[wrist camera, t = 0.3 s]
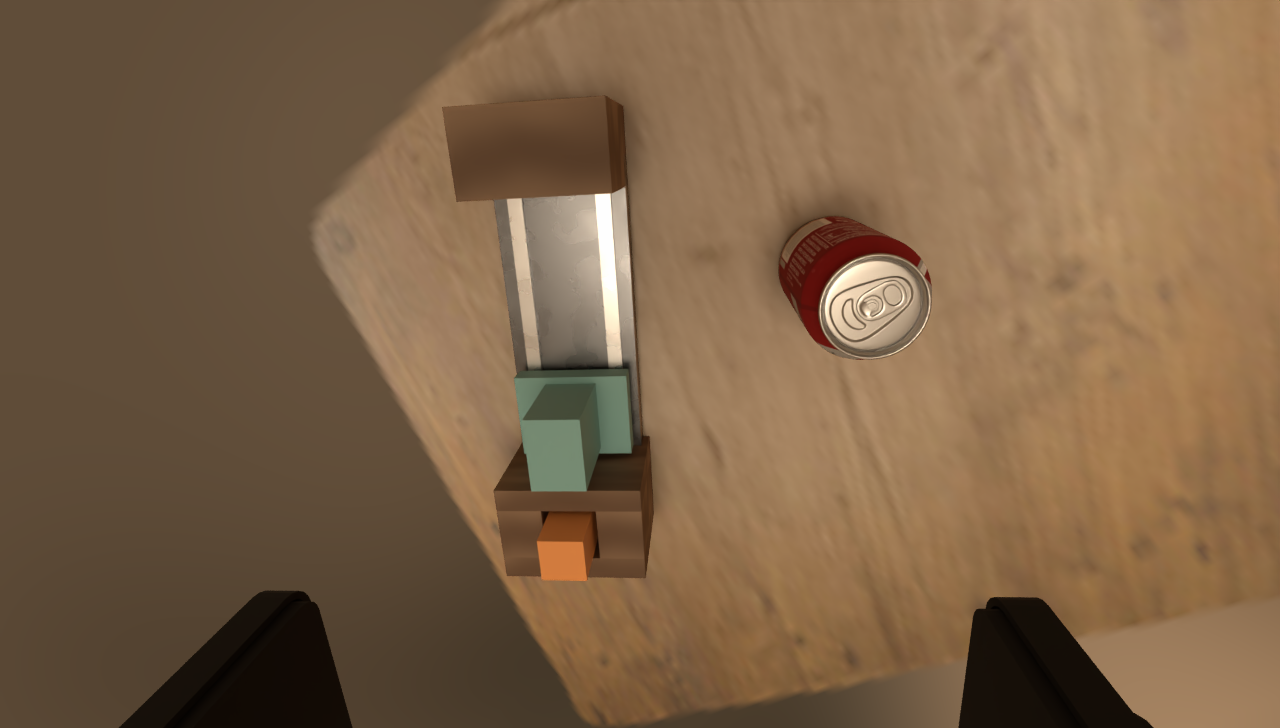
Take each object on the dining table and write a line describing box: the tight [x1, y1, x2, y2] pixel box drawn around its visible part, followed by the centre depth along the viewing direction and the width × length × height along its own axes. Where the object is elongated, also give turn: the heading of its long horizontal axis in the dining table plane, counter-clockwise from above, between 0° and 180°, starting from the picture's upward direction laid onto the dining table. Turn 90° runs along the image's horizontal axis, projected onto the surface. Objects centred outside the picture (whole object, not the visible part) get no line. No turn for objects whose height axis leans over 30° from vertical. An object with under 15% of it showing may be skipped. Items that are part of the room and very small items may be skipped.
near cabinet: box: [442, 96, 626, 202], centre depth 37 cm, size 5×9×8 cm, turn 93°
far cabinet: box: [494, 436, 654, 578], centre depth 45 cm, size 7×10×8 cm
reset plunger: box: [537, 511, 598, 581], centre depth 42 cm, size 3×3×8 cm
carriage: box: [514, 369, 633, 491], centre depth 41 cm, size 6×8×8 cm
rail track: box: [494, 154, 643, 445], centre depth 43 cm, size 21×9×2 cm, turn 3°
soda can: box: [779, 216, 932, 360], centre depth 36 cm, size 7×7×12 cm
